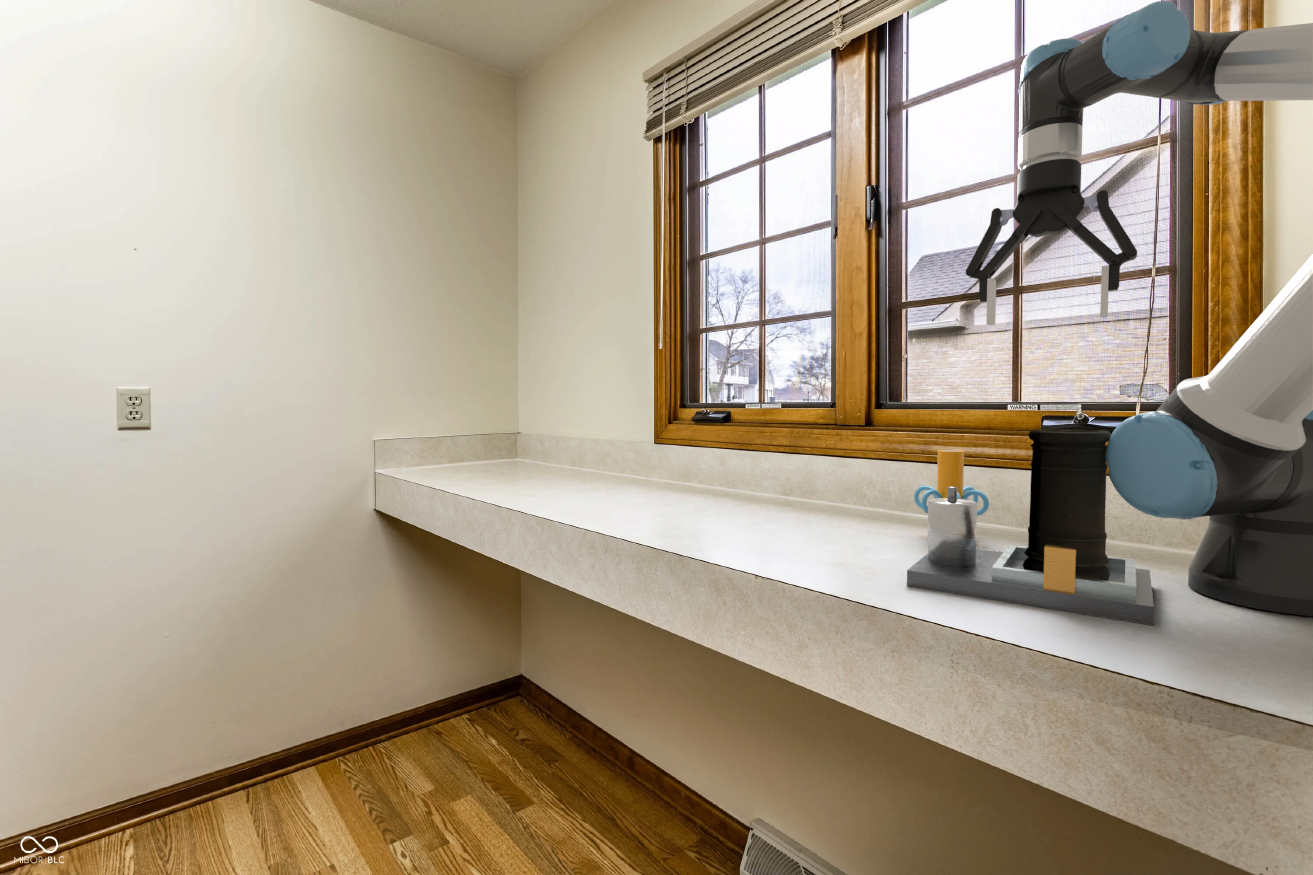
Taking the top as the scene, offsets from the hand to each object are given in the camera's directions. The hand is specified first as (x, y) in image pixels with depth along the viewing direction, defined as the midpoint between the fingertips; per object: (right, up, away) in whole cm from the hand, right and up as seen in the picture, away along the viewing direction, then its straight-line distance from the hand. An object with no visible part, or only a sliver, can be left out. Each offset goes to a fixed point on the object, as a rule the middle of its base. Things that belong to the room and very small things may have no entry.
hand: (1044, 320), depth 89 cm
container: (-4, -34, -11) cm, 36 cm away
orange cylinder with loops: (-5, -34, +19) cm, 39 cm away
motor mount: (-7, -35, -8) cm, 37 cm away
